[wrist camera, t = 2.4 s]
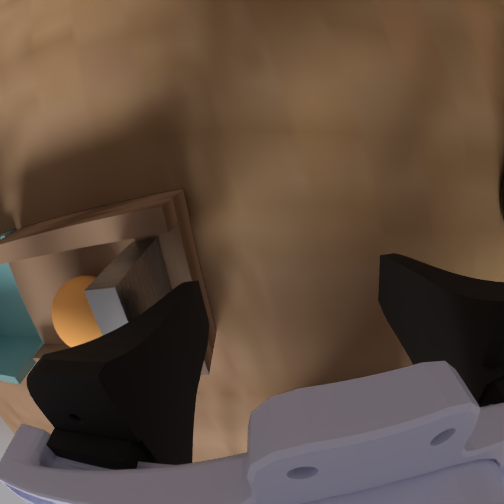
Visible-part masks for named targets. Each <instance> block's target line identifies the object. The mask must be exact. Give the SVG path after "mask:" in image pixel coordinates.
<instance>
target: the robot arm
mask: <svg viewBox="0 0 504 504" xmlns="http://www.w3.org/2000/svg"><path fill="white" fill-rule="evenodd" d="M378 300H379V303H380V305H381V308H382V310H383V313H384V315H385V317H386V319H387V321H388V323H389V324H390V326H391V328H392V329H393V331H394V333H395V334H396V336H397V337H398V339H399V341H400V342H401V344H402V346H403V347H404V349H405V351H406V352H407V354H408V356H409V358H410V360H411V362H412V364H413V365H411V366H407V367H403V368H399V369H395V370H391V371H387V372H383V373H379V374H375V375H370V376H365V377H361V378H356V379H351V380H346V381H340V382H335V383H329V384H323V385H317V386H311V387H304V388H298V389H295V390H292V391H289V392H285V393H282V394H279V395H275V396H272V397H270V398H269V399H267V400H266V401H265V402H264V403H262V404H261V405H260V406H259V407H257V408H256V409H255V410H254V411H252V412H251V415H250V420H249V425H248V445H247V453H242V454H238V455H233V456H228V457H223V458H218V459H213V460H207V461H201V462H195V463H192V449H193V426H194V413H195V402H196V394H197V388H198V384H199V380H200V375H201V371H202V367H203V363H204V359H205V354H206V350H207V346H208V338H209V324H210V323H209V319H208V316H207V312H206V308H205V304H204V300H203V296H202V292H201V288H200V284H199V280H197V281H188V282H183V283H181V284H180V285H178V286H177V287H175V288H174V289H173V290H172V291H170V292H169V293H168V294H167V295H165V296H164V297H163V298H162V299H160V300H159V301H158V302H157V303H155V304H154V305H153V306H151V307H150V308H148V309H147V310H146V311H144V312H143V313H142V314H140V315H139V316H137V317H136V318H134V319H133V320H131V321H130V322H128V323H126V324H124V325H123V326H121V327H119V328H117V329H116V330H113V331H111V332H109V333H107V334H105V335H103V336H101V337H99V338H96V339H94V340H91V341H89V342H86V343H83V344H80V345H77V346H74V347H71V348H68V349H64V350H60V351H56V352H52V353H47V354H44V355H43V356H42V357H41V358H40V359H39V361H38V362H37V363H36V365H35V366H34V367H33V369H32V370H31V371H30V373H29V374H28V377H27V387H28V390H29V392H30V395H31V397H32V398H33V400H34V401H35V403H36V404H37V406H38V407H39V408H40V410H41V411H42V412H43V414H44V415H45V416H46V417H47V419H48V420H49V421H50V422H51V424H52V425H53V426H54V427H55V428H54V430H53V432H52V434H49V433H48V432H46V431H45V430H42V429H39V428H36V427H32V426H29V425H26V424H21V425H20V427H19V429H18V430H17V432H16V434H15V436H14V437H13V439H12V441H11V443H10V444H9V446H8V448H7V450H6V452H5V454H4V455H3V457H2V459H1V461H0V482H1V483H3V484H4V485H5V486H6V487H7V488H9V489H10V490H11V491H12V492H14V493H15V494H16V495H18V496H19V497H20V498H21V499H23V500H24V501H25V502H26V503H28V504H504V282H494V281H487V280H480V279H475V278H470V277H466V276H462V275H458V274H454V273H451V272H448V271H445V270H442V269H439V268H436V267H433V266H430V265H428V264H425V263H422V262H420V261H417V260H414V259H411V258H409V257H406V256H403V255H399V254H394V253H393V254H387V255H380V276H379V297H378Z"/></svg>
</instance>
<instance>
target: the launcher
mask: <svg viewBox="0 0 504 504" xmlns="http://www.w3.org/2000/svg"><path fill="white" fill-rule="evenodd" d="M153 238H157V240H158V244H159V248H160V252H161V256H162V259H163V263H164V267H165V270H166V274H167V277H168V281H169V284H170V288H171V291H172V290H173V289H174V288H175V287H177V286H178V285H180V284H181V283H183V282H188V281H197V280H199V284H200V288H201V292H202V296H203V300H204V304H205V308H206V312H207V316H208V319H209V323H210V324H209V338H208V346H207V350H206V354H205V359H204V363H203V367H202V371H201V375H209V371H210V365H211V359H212V354H213V348H214V342H215V337H216V328H215V324H214V320H213V316H212V312H211V308H210V305H209V301H208V297H207V292H206V288H205V284H204V280H203V276H202V272H201V267H200V263H199V259H198V255H197V250H196V246H195V241H194V237H193V232H192V228H191V223H190V218H189V214H188V209H187V204H186V199H185V194H184V189H181V190H175V191H170V192H165V193H160V194H155V195H150V196H146V197H141V198H136V199H132V200H127V201H123V202H118V203H114V204H110V205H105V206H101V207H97V208H93V209H89V210H85V211H81V212H77V213H73V214H69V215H66V216H62V217H58V218H55V219H51V220H47V221H44V222H40V223H37V224H33V225H30V226H27V227H23V228H20V229H18V230H17V231H15V232H13V233H11V234H9V235H8V236H6V237H4V238H2V239H1V240H0V264H4V263H9V266H10V269H11V271H12V274H13V277H14V279H15V282H16V284H17V287H18V289H19V292H20V294H21V296H22V299H23V301H24V303H25V305H26V308H27V310H28V312H29V314H30V316H31V318H32V321H33V323H34V325H35V327H36V329H37V331H38V333H39V335H40V337H41V339H42V340H43V342H44V344H43V346H42V347H41V348H40V349H39V351H38V352H37V353H36V354H35V356H34V357H33V359H34V361H35V362H36V363H37V362H38V361H39V359H40V358H41V357H42V356H43V355H44V354H47V353H52V352H56V351H60V350H64V349H68V348H71V347H70V346H68V345H67V344H66V343H65V342H64V341H63V340H62V339H61V338H60V337H59V335H58V334H57V332H56V330H55V328H54V325H53V321H52V304H53V300H54V297H55V295H56V293H57V291H58V290H59V288H60V287H61V286H62V285H63V284H64V283H66V282H67V281H68V280H70V279H72V278H75V277H78V276H94V277H97V276H98V275H99V274H100V273H101V272H102V271H103V270H104V269H105V268H106V267H107V266H108V265H109V264H110V263H111V262H112V261H113V260H114V259H115V258H116V257H117V256H118V255H119V254H120V253H121V252H122V251H123V250H124V249H125V248H126V247H127V246H128V245H129V244H130V243H131V242H135V241H140V240H146V239H153Z"/></svg>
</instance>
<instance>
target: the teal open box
mask: <svg viewBox="0 0 504 504" xmlns="http://www.w3.org/2000/svg"><path fill="white" fill-rule="evenodd" d="M15 231H17V230H16V229H14V230H11V231H8V232H5V233H2V234H0V240H1V239H2V238H4V237H6V236H8V235H9V234H11V233H13V232H15ZM43 344H44V342H43V340H42V339H41V337H40V335H39V333H38V331H37V329H36V327H35V325H34V323H33V321H32V318H31V316H30V314H29V312H28V310H27V308H26V305H25V303H24V301H23V299H22V296H21V294H20V292H19V289H18V287H17V284H16V282H15V279H14V277H13V274H12V271H11V269H10V266H9V263H4V264H0V381H5V382H9V383H14V384H19V385H20V383H21V382H22V381H23V379H24V378H25V377H26V375H27V374H28V372H29V371H30V370H31V368H32V367H33V366H34V364H35V363H36V362H35V361H34V359H33V357H34V356H35V354H36V353H37V352H38V351H39V349H40V348H41V347H42V346H43Z"/></svg>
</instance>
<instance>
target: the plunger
mask: <svg viewBox="0 0 504 504" xmlns="http://www.w3.org/2000/svg"><path fill="white" fill-rule="evenodd" d="M170 291H171V288H170V284H169V281H168V277H167V274H166V270H165V267H164V263H163V259H162V256H161V252H160V248H159V244H158V240H157V238H153V239H146V240H140V241H135V242H131V243H130V244H129V245H128V246H127V247H126V248H125V249H124V250H123V251H122V252H121V253H120V254H119V255H118V256H117V257H116V258H115V259H114V260H113V261H112V262H111V263H110V264H109V265H108V266H107V267H106V268H105V269H104V270H103V271H102V272H101V273H100V274H99V275H98V276H97V277H96V278H95V279H94V281H93V282H92V283H91V284H90V285H89V286H88V287H87V288H86V289H85V290H84V293H85V295H86V298H87V300H88V303H89V305H90V308H91V310H92V312H93V315H94V317H95V319H96V322H97V324H98V326H99V329H100V331H101V333H102V335H105V334H107V333H109V332H111V331H113V330H116V329H117V328H119V327H121V326H123V325H124V324H126V323H128V322H130V321H131V320H133V319H134V318H136V317H137V316H139V315H140V314H142V313H143V312H144V311H146V310H147V309H148V308H150V307H151V306H153V305H154V304H155V303H157V302H158V301H159V300H160V299H162V298H163V297H164V296H165V295H167V294H168V293H169V292H170Z"/></svg>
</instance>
